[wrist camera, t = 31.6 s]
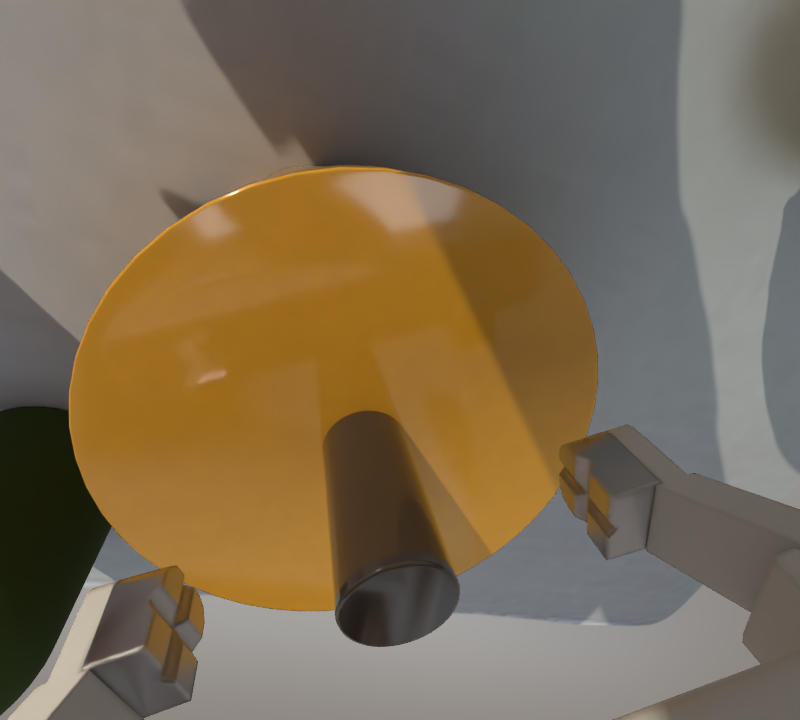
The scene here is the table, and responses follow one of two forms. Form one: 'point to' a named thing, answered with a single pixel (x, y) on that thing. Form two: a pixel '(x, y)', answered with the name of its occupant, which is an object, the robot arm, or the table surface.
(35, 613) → the avocado
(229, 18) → the table surface
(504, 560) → the table surface
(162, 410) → the lid
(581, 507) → the robot arm
